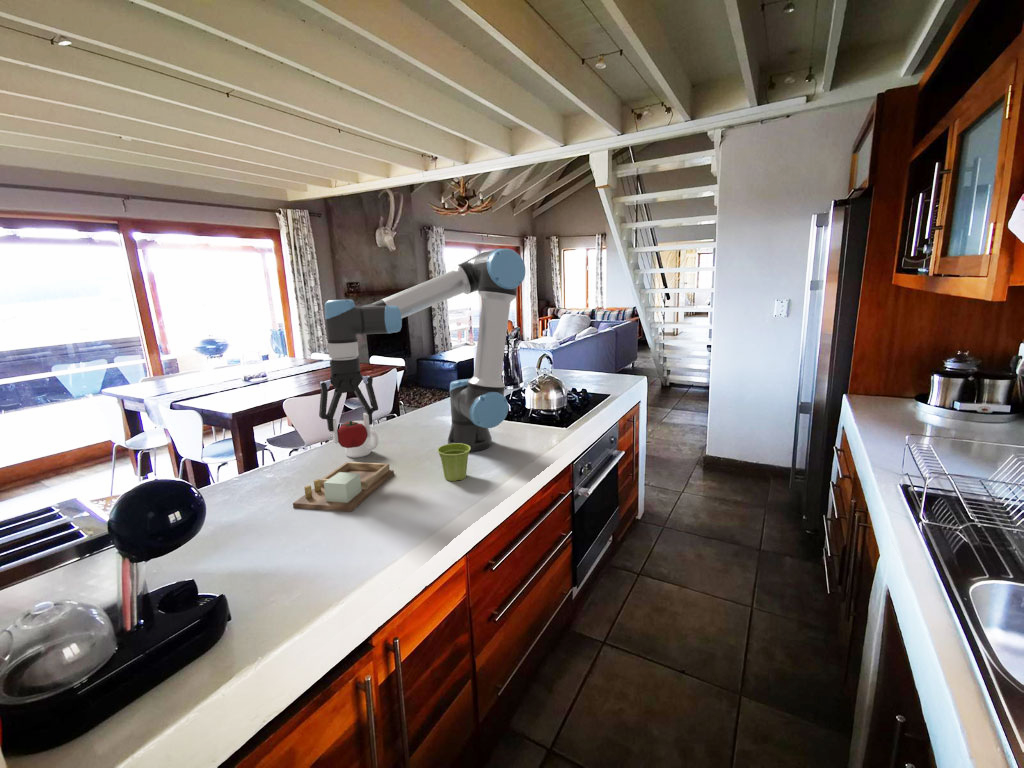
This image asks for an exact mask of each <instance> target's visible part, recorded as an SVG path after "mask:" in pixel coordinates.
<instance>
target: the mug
mask: <svg viewBox="0 0 1024 768" xmlns="http://www.w3.org/2000/svg"><path fill="white" fill-rule="evenodd" d="M351 421H352V420H351ZM352 422H356V423H359V424H363V425H364V420H353V421H352ZM371 437H373V441H374V442H373V444H372V441H371ZM378 445H379V437H378V434H377V432H376V431H375V430H373V429H372V428H370V437H367V439H366V441H365V442H364V443H363V445H361V446H359V447H353V448H345V447H344V451H345V455H346V457H349V458H363V457H366V456H369V455H370V454H371V453H372V451H373V450H376V449H377V447H378Z"/></svg>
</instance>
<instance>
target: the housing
mask: <svg viewBox="0 0 1024 768" xmlns="http://www.w3.org/2000/svg"><path fill="white" fill-rule="evenodd" d="M324 489H325V498H326V501H328V502H343V503H348V502H349V501H350V500H352V499H353V498H354V497H355V496H356V495H358V494H359V493H360V492H361V491H362V489H361V479H360V473H346V472H339V473H337V474H336V475H334V476H333V477H331V478H330V479H329V480H327V481H326V482H324Z"/></svg>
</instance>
